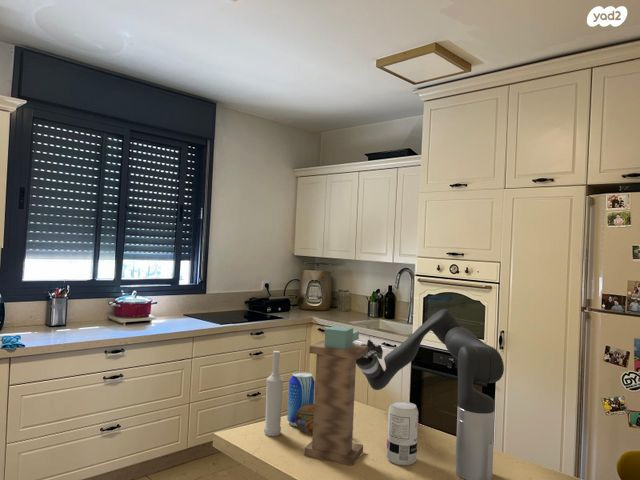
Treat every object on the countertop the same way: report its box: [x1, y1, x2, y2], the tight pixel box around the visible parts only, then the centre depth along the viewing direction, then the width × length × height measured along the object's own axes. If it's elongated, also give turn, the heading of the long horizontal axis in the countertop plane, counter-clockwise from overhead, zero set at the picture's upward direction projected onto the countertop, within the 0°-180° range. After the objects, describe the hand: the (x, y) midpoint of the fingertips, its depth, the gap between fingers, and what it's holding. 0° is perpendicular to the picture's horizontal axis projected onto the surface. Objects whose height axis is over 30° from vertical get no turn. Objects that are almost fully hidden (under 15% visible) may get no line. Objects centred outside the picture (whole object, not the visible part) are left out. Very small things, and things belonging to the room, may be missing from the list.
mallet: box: [324, 325, 360, 349], centre depth 137 cm, size 6×19×5 cm, turn 159°
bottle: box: [263, 350, 284, 437], centre depth 144 cm, size 5×5×25 cm
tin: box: [295, 404, 314, 434], centre depth 147 cm, size 15×3×8 cm, turn 84°
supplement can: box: [386, 400, 419, 466], centre depth 129 cm, size 8×8×15 cm
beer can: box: [286, 371, 315, 428], centre depth 153 cm, size 8×8×16 cm
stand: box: [303, 340, 368, 467], centre depth 131 cm, size 14×10×30 cm
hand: (355, 341), depth 146 cm, fingers open, 8 cm apart
